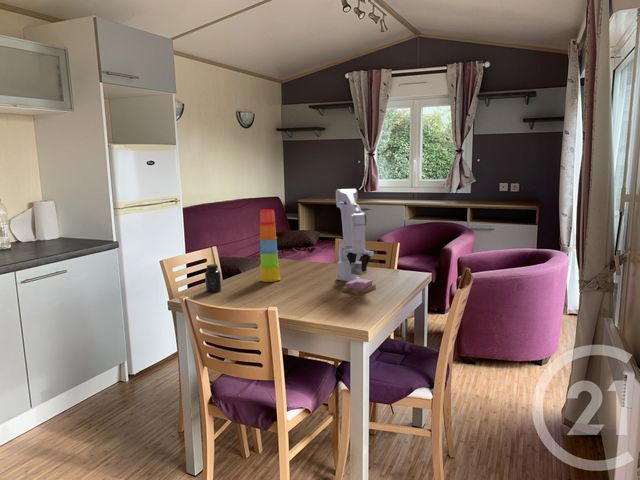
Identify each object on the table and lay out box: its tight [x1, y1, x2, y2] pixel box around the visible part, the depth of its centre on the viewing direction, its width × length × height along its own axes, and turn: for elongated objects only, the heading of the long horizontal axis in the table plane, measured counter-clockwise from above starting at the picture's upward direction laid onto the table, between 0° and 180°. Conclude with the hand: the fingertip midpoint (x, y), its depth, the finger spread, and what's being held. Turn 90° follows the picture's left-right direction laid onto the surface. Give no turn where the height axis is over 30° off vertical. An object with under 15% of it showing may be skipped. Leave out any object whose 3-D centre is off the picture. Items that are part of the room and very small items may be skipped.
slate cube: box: [351, 260, 368, 276], centre depth 217 cm, size 5×5×5 cm
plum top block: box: [345, 278, 373, 290], centre depth 218 cm, size 8×10×2 cm
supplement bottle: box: [204, 263, 222, 294], centre depth 221 cm, size 7×7×12 cm
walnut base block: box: [341, 283, 377, 295], centre depth 219 cm, size 10×12×2 cm
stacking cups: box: [258, 209, 282, 283], centre depth 237 cm, size 10×10×35 cm
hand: (358, 270), depth 217 cm, fingers closed on slate cube, 5 cm apart
